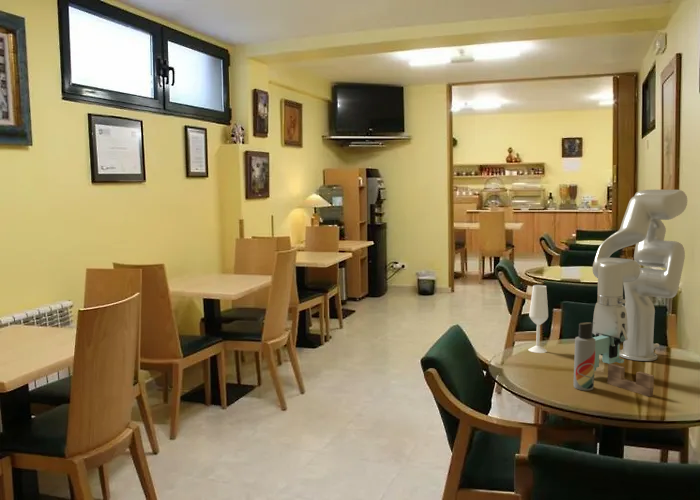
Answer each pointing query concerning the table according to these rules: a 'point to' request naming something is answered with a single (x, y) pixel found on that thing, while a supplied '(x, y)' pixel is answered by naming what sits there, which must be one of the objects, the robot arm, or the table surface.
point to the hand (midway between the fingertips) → (608, 355)
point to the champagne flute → (538, 313)
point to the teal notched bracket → (604, 350)
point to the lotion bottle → (584, 358)
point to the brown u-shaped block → (640, 386)
